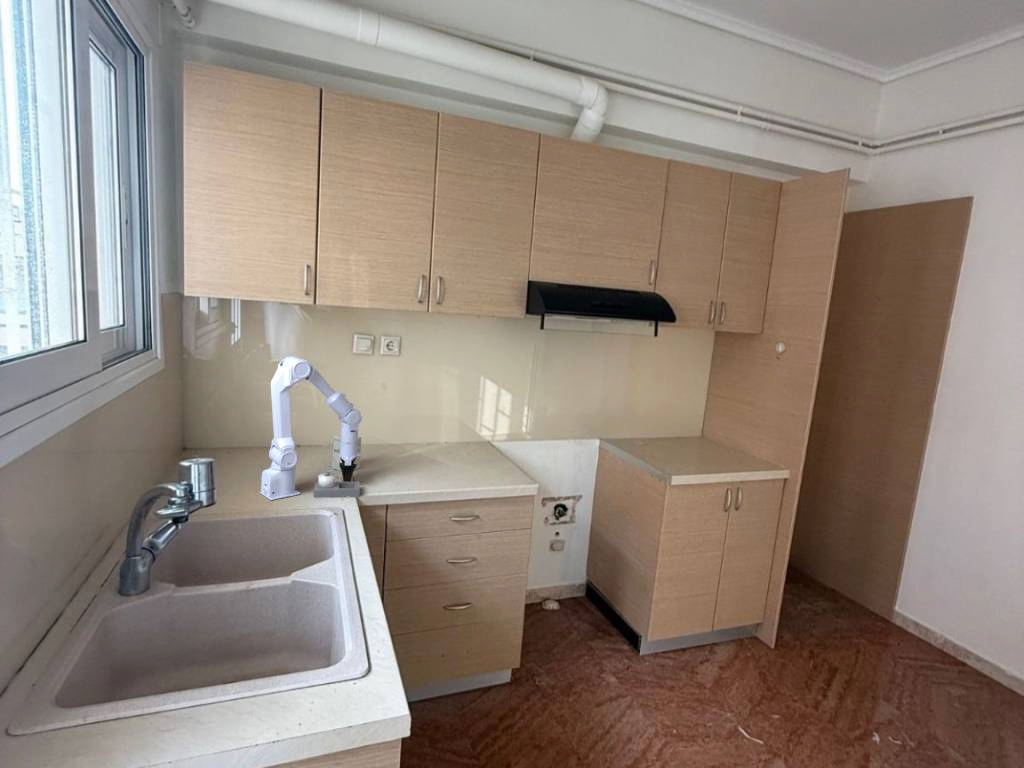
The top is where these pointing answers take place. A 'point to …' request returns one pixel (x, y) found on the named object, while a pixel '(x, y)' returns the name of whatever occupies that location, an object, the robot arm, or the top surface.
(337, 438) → the supplement box
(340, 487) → the tray
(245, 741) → the top surface
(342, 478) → the small orange jar
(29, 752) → the top surface
